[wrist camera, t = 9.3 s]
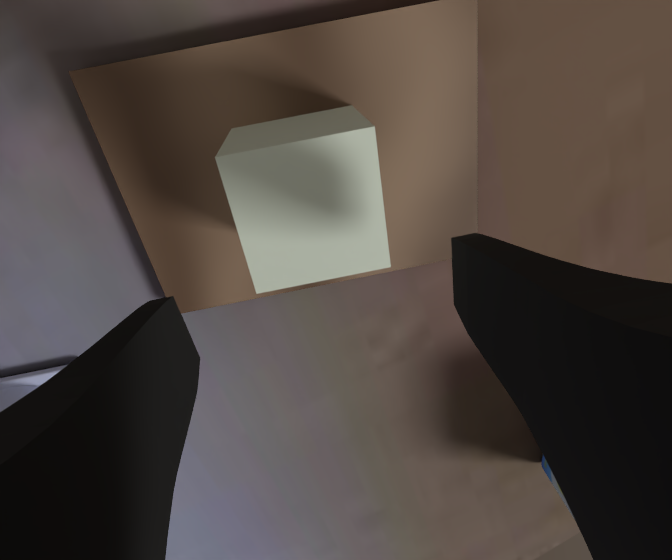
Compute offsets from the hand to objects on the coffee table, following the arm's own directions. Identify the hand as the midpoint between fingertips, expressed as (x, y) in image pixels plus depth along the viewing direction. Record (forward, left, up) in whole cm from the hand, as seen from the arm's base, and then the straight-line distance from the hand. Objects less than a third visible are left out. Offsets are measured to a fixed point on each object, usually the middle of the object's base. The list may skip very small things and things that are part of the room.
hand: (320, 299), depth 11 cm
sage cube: (0, +1, -7) cm, 7 cm away
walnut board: (0, +1, -8) cm, 8 cm away
